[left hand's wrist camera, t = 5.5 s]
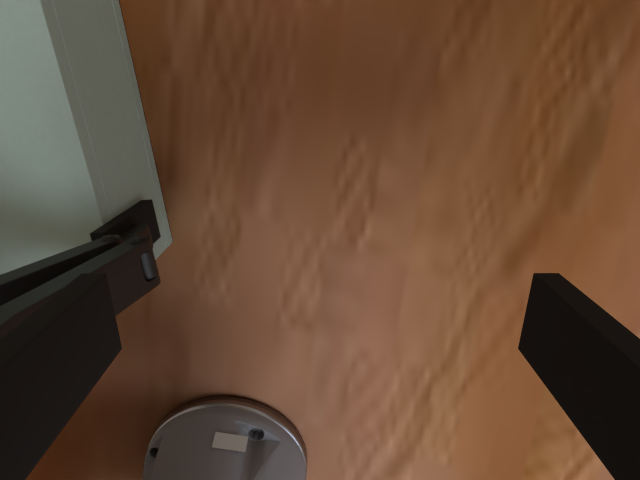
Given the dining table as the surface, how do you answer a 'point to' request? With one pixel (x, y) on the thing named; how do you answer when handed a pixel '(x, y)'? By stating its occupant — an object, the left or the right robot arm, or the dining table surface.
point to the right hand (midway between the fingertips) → (74, 224)
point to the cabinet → (69, 128)
